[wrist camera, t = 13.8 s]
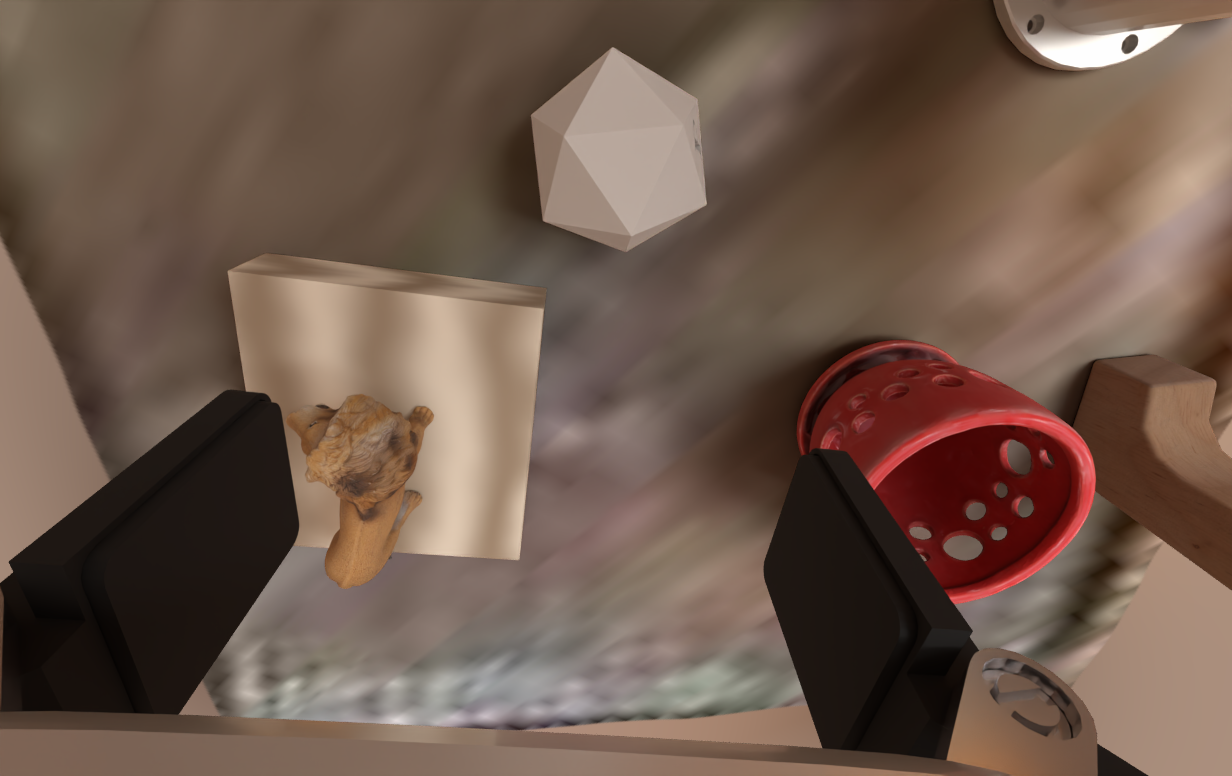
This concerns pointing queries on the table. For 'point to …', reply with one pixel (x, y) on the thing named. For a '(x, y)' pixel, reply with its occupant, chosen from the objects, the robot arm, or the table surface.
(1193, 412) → the wooden block
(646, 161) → the die
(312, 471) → the lion figurine
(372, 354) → the birch plinth
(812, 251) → the table surface
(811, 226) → the table surface
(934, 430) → the plant pot
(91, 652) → the robot arm
